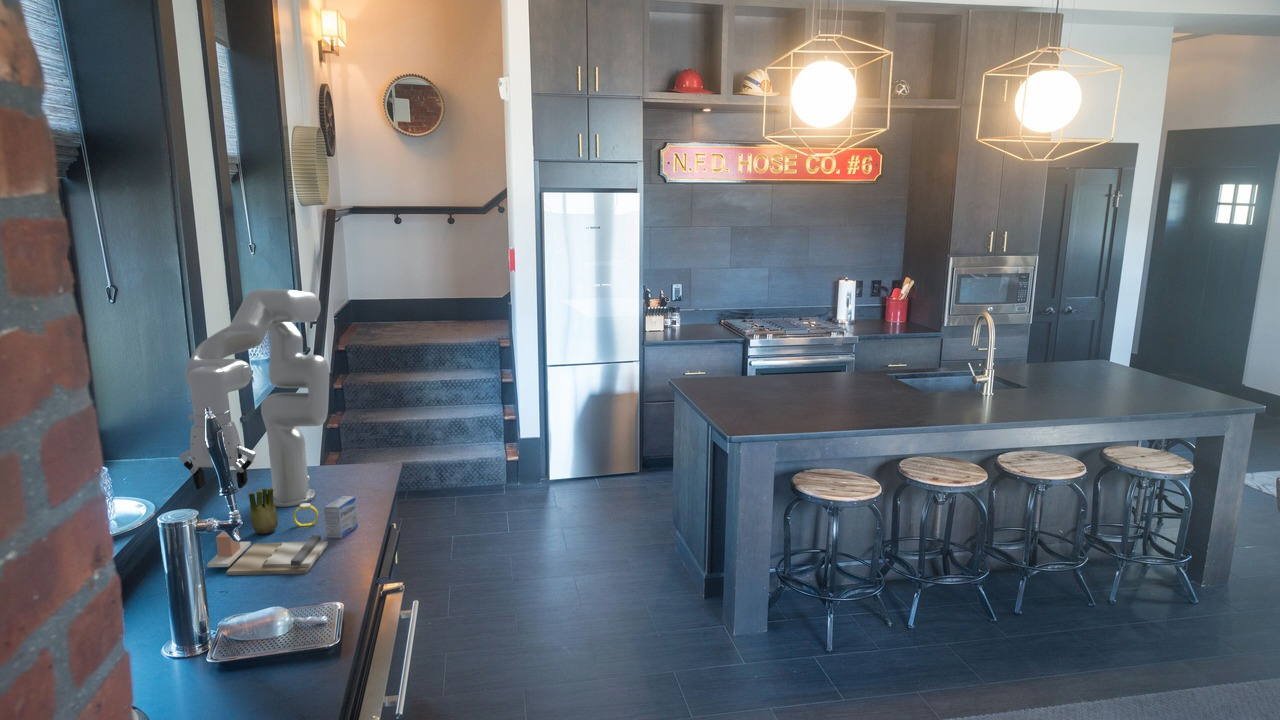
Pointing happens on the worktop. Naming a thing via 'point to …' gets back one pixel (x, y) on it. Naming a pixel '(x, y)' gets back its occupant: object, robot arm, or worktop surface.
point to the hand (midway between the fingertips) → (221, 486)
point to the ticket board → (279, 558)
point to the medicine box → (340, 517)
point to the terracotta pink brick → (227, 550)
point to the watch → (305, 506)
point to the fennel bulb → (263, 511)
